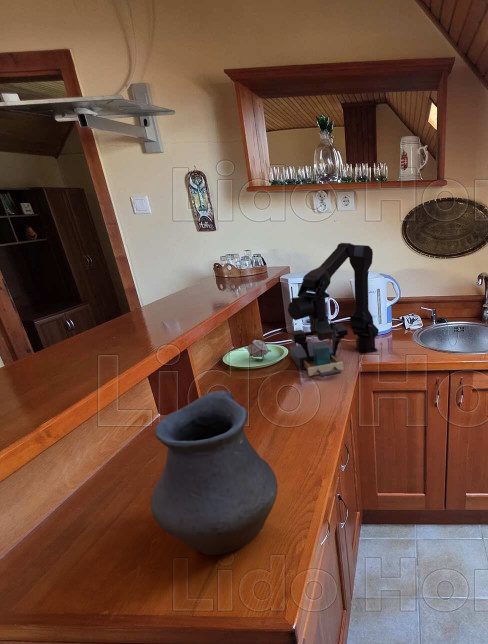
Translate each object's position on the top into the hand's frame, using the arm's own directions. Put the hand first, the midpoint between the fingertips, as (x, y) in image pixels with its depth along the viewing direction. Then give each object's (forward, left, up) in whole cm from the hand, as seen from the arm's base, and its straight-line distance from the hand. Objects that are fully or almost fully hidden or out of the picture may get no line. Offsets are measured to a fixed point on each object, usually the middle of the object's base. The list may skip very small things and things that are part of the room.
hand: (321, 356), depth 145 cm
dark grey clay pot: (+39, +67, -5) cm, 78 cm away
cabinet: (0, -11, -5) cm, 13 cm away
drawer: (0, +1, -4) cm, 4 cm away
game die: (+18, -22, -5) cm, 29 cm away
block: (0, 0, -3) cm, 3 cm away
